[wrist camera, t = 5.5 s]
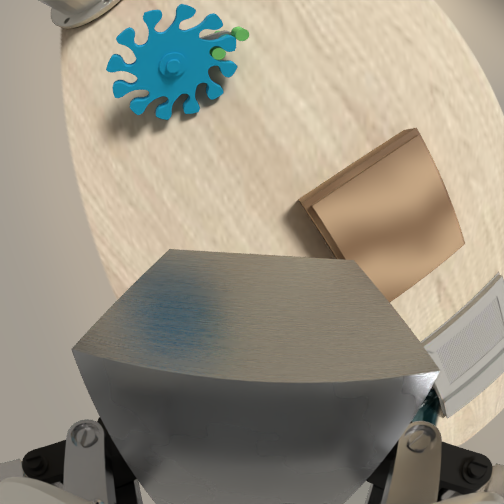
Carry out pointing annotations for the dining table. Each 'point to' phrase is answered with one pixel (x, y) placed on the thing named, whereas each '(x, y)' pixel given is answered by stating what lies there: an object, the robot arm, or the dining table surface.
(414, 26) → the dining table surface
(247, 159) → the dining table surface
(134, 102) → the gear
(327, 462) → the grey rectangular block
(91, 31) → the dining table surface
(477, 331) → the grey folded flat piece
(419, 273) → the stand
